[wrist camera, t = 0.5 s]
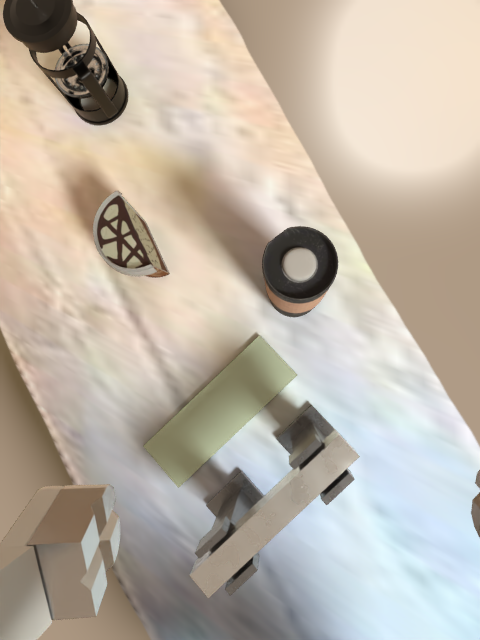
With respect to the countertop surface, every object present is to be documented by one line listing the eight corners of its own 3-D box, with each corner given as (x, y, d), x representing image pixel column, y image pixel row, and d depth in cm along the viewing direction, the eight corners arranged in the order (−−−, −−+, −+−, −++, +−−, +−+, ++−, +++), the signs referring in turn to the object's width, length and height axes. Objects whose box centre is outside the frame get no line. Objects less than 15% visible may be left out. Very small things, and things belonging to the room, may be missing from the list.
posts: (346, 441, 55) (370, 474, 40) (239, 541, 55) (224, 610, 40) (311, 404, 56) (322, 423, 41) (207, 503, 56) (180, 557, 41)
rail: (354, 449, 43) (359, 456, 40) (213, 581, 44) (208, 598, 41) (335, 429, 44) (339, 434, 41) (195, 560, 44) (189, 575, 41)
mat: (297, 374, 56) (297, 375, 56) (179, 486, 57) (178, 487, 56) (259, 335, 57) (259, 335, 57) (144, 445, 58) (143, 446, 57)
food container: (108, 231, 62) (75, 208, 52) (142, 213, 61) (115, 187, 51) (138, 299, 60) (110, 289, 50) (173, 282, 60) (152, 268, 50)
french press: (61, 92, 65) (-59, -50, 42) (106, 57, 64) (9, -105, 41) (99, 144, 63) (-5, 26, 40) (145, 109, 63) (66, -30, 40)
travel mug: (316, 322, 57) (334, 306, 37) (265, 315, 58) (256, 296, 38) (322, 271, 57) (344, 228, 37) (271, 265, 58) (266, 221, 38)
